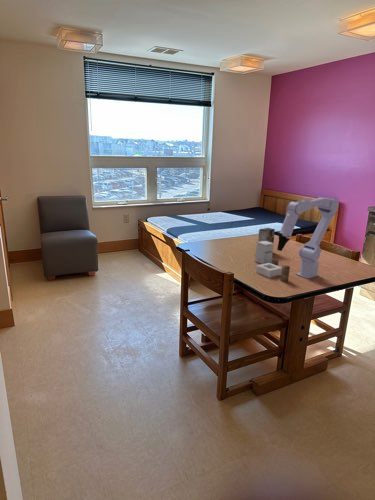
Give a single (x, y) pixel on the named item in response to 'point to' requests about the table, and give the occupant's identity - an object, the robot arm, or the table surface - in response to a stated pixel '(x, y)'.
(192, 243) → the table surface
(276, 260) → the short pin
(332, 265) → the table surface
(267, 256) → the supplement box
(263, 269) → the hole block
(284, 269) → the brown rounded cylinder
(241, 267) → the table surface
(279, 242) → the robot arm
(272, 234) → the coffee box
